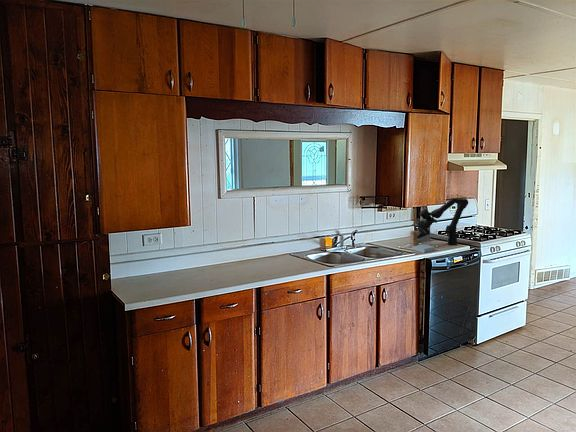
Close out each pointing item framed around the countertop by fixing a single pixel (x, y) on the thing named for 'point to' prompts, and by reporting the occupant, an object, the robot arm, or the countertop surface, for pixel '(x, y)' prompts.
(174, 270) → the countertop surface
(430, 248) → the plinth
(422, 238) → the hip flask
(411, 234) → the walnut block
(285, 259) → the countertop surface
